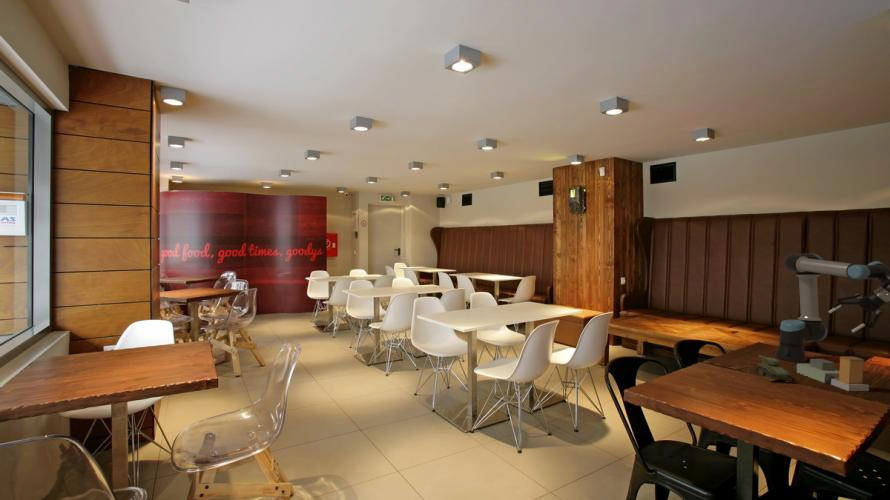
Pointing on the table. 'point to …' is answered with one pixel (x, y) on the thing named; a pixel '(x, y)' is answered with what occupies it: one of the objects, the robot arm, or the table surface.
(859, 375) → the tan wooden block
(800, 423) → the table surface
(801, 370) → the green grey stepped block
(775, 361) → the toy
